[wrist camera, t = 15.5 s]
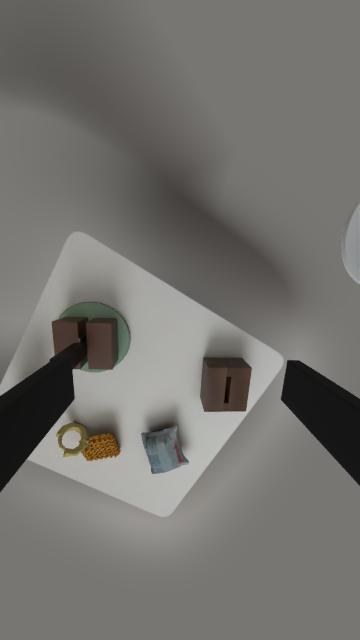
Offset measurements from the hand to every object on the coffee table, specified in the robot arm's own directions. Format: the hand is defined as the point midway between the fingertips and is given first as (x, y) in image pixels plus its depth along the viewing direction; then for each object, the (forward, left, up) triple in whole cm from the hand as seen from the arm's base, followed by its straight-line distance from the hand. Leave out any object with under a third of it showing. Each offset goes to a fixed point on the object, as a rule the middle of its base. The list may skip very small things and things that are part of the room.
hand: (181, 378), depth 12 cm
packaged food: (0, +33, -29) cm, 44 cm away
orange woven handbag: (+17, +31, -29) cm, 46 cm away
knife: (+16, +7, -28) cm, 33 cm away
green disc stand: (+16, +7, -29) cm, 34 cm away
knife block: (-12, +16, -29) cm, 35 cm away
